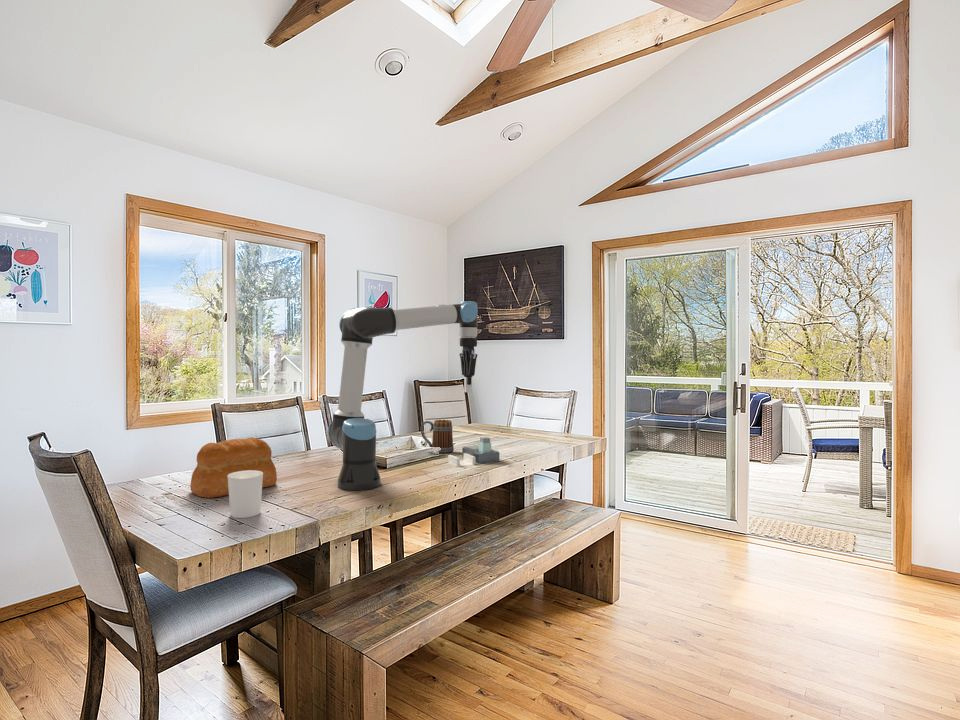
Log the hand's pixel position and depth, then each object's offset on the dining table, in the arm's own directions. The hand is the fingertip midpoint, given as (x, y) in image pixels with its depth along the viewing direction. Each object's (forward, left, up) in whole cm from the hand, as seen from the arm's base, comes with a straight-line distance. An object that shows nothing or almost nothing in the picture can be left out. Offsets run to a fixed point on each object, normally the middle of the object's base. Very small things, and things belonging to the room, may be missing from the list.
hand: (467, 392), depth 235 cm
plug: (+6, -5, -30) cm, 31 cm away
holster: (-5, -5, -30) cm, 31 cm away
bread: (-92, -4, -31) cm, 97 cm away
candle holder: (-91, -36, -31) cm, 103 cm away
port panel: (+6, -1, -30) cm, 31 cm away
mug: (-4, +24, -31) cm, 39 cm away
